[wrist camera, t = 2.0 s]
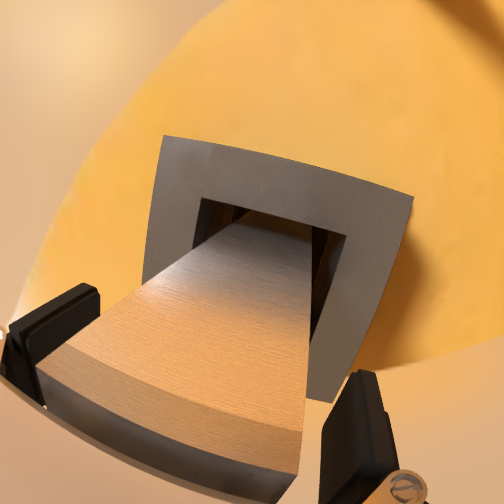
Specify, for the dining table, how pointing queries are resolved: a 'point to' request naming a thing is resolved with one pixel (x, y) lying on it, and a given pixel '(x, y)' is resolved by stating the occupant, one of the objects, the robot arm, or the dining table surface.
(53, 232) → the dining table surface
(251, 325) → the column
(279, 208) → the housing
